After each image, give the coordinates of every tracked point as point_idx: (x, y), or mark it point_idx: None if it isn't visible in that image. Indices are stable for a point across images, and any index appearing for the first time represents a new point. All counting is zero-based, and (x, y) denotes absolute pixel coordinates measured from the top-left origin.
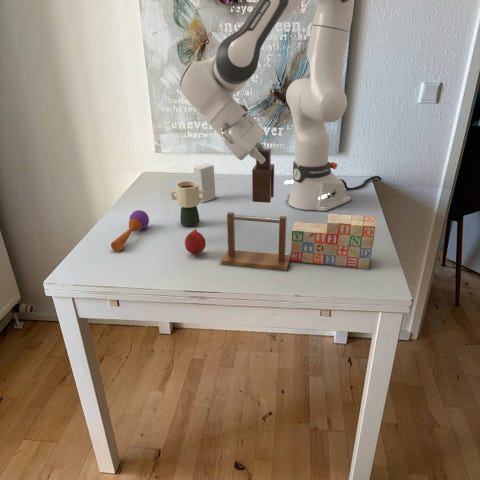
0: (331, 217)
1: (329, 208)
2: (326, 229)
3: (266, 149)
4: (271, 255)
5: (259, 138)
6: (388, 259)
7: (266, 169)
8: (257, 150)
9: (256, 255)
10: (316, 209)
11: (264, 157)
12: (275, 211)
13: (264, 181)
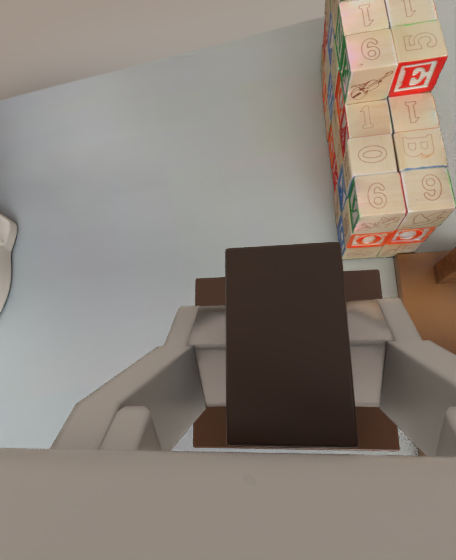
0: (387, 54)
1: (1, 214)
2: (396, 97)
3: (256, 301)
4: (421, 314)
5: (60, 462)
6: (310, 30)
7: None
8: (339, 426)
9: None
10: (9, 251)
11: (380, 311)
12: (23, 386)
13: None
